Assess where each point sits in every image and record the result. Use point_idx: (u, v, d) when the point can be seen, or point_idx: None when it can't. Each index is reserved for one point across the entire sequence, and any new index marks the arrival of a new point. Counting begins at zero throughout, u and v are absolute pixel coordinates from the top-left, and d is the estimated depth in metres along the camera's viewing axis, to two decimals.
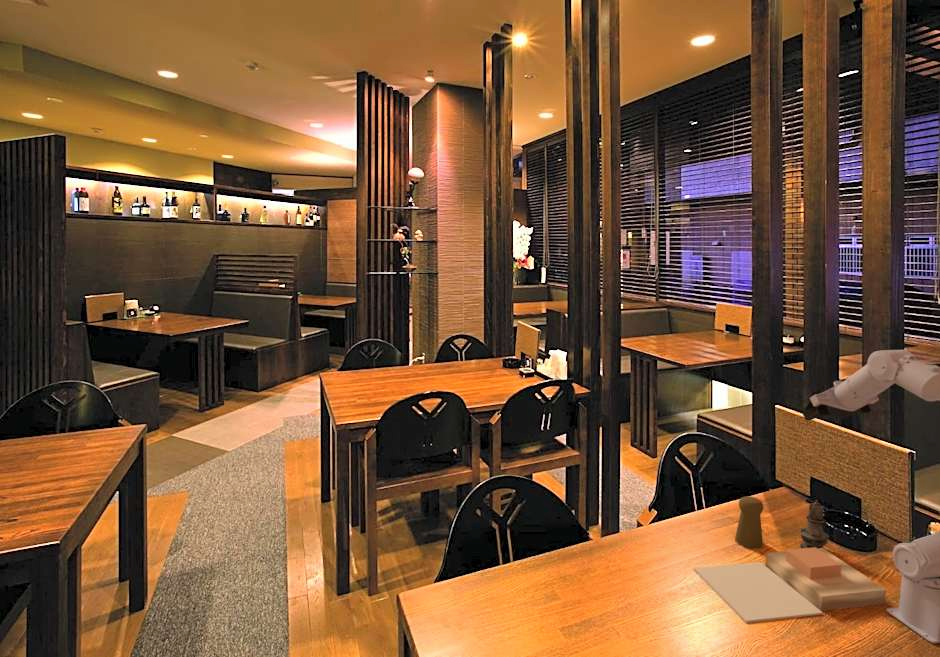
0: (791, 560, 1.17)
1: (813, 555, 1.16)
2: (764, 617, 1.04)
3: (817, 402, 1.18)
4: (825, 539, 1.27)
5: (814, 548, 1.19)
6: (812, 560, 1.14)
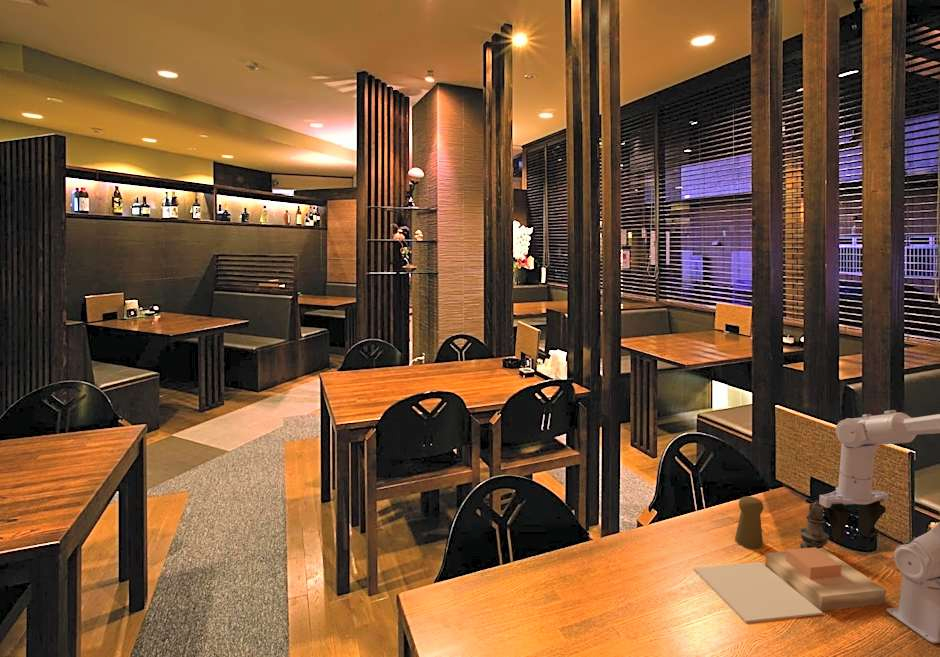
0: (791, 560, 1.17)
1: (813, 555, 1.16)
2: (764, 617, 1.04)
3: (825, 500, 1.13)
4: (825, 539, 1.27)
5: (814, 548, 1.19)
6: (812, 560, 1.14)
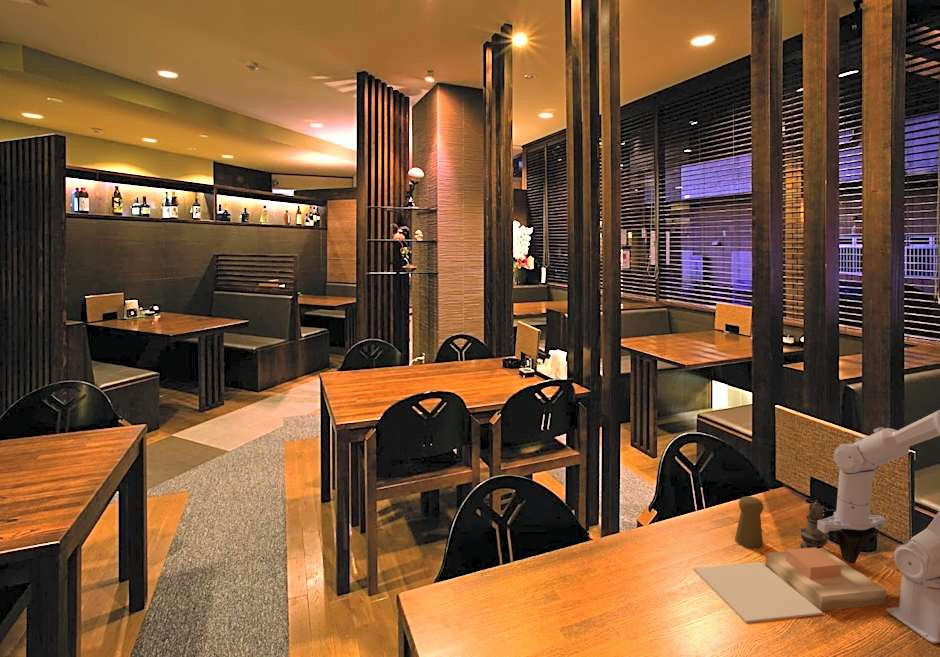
0: (791, 560, 1.17)
1: (813, 555, 1.16)
2: (764, 617, 1.04)
3: (823, 525, 1.14)
4: (825, 539, 1.27)
5: (814, 548, 1.19)
6: (812, 560, 1.14)
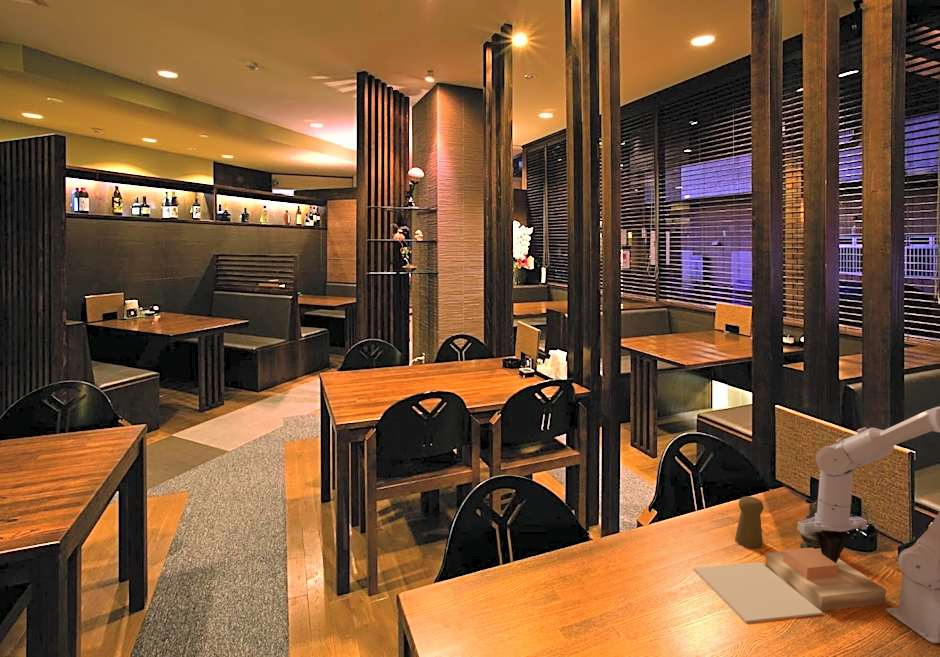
0: (788, 560, 1.17)
1: (810, 555, 1.16)
2: (764, 617, 1.04)
3: (803, 527, 1.14)
4: None
5: (811, 548, 1.19)
6: (809, 561, 1.14)
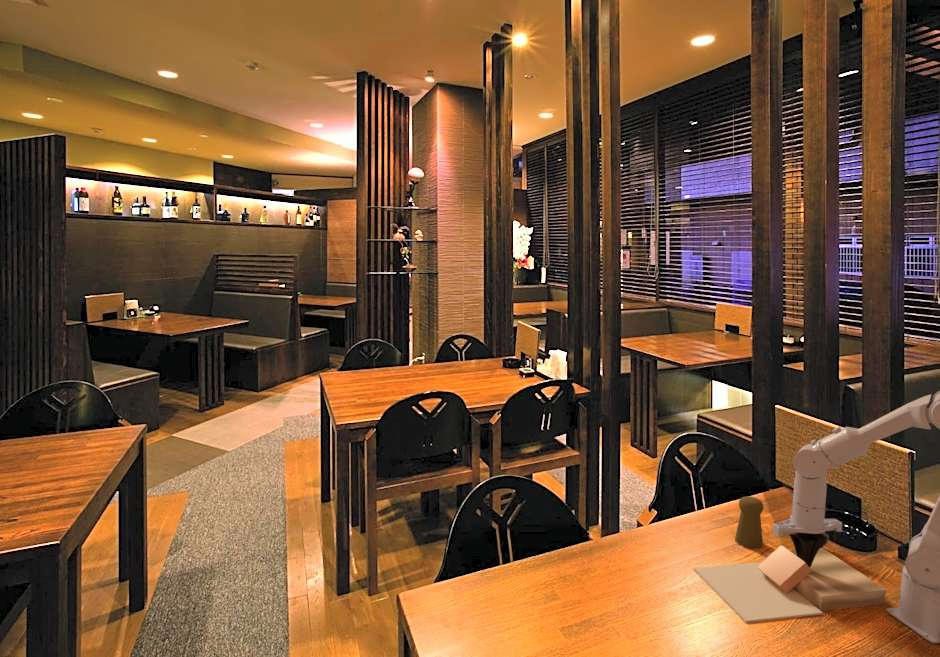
0: (765, 575, 1.17)
1: (780, 560, 1.15)
2: (764, 617, 1.04)
3: (777, 529, 1.13)
4: None
5: (780, 547, 1.18)
6: (780, 571, 1.13)
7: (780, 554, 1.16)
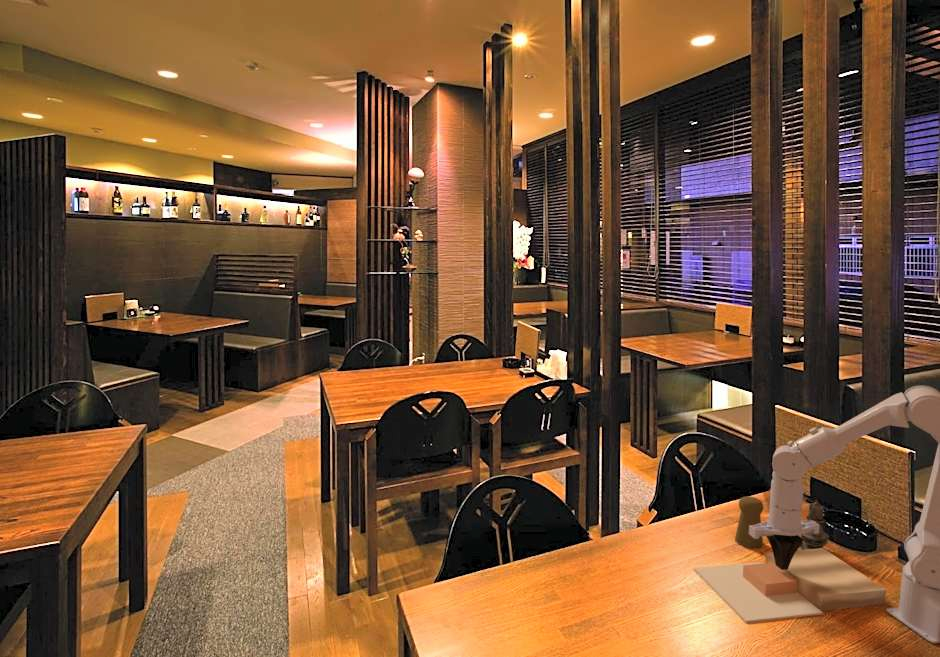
0: (748, 575, 1.16)
1: (770, 571, 1.15)
2: (764, 617, 1.04)
3: (754, 531, 1.12)
4: (825, 539, 1.27)
5: (772, 563, 1.18)
6: (768, 577, 1.13)
7: (771, 567, 1.16)
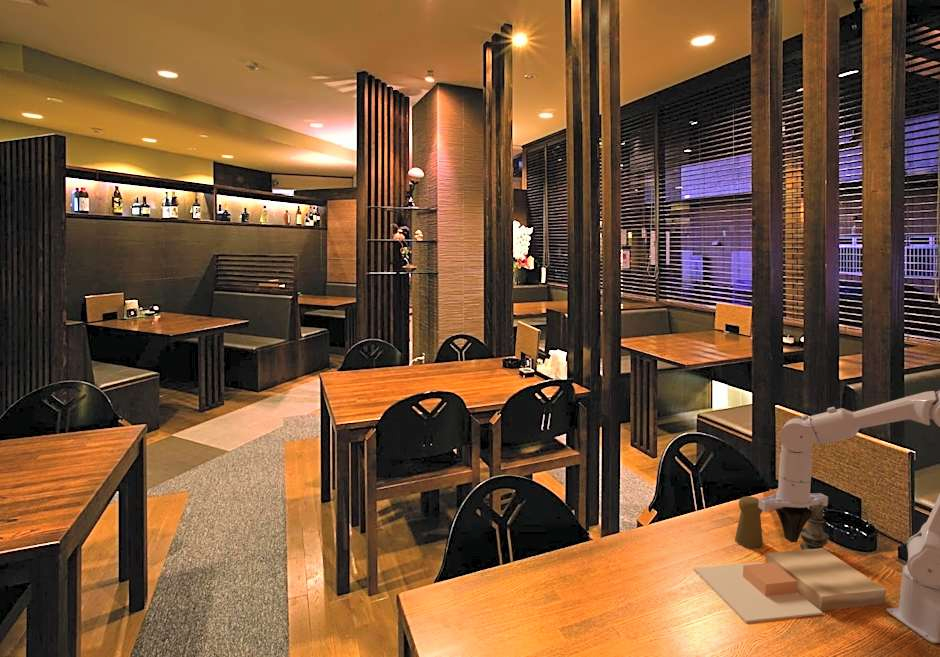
0: (748, 575, 1.16)
1: (770, 571, 1.15)
2: (764, 617, 1.04)
3: (764, 503, 1.12)
4: (825, 539, 1.27)
5: (772, 563, 1.18)
6: (768, 577, 1.13)
7: (771, 567, 1.16)
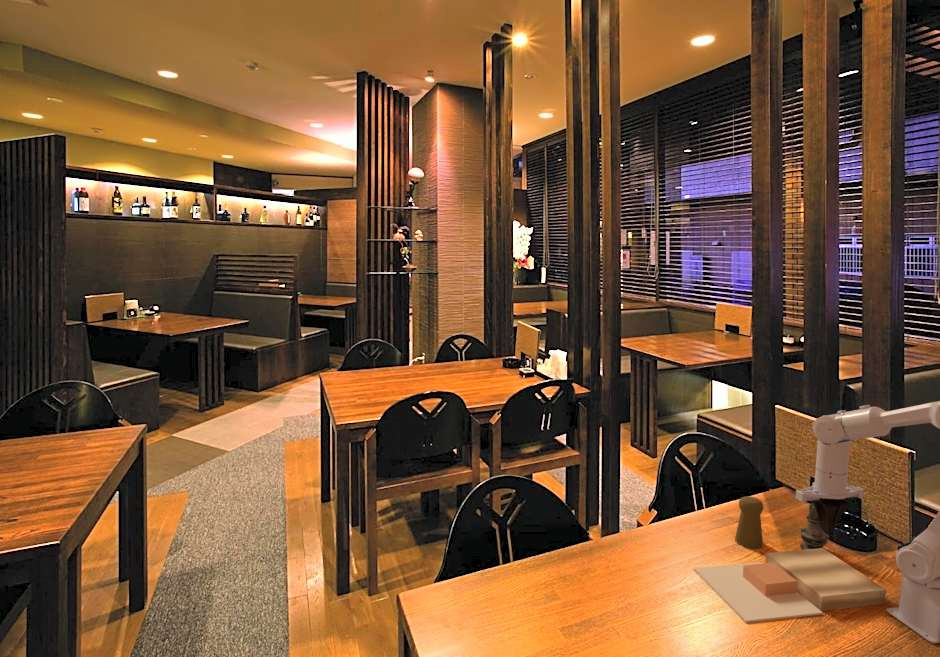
0: (748, 575, 1.16)
1: (770, 571, 1.15)
2: (764, 617, 1.04)
3: (801, 495, 1.16)
4: (825, 539, 1.27)
5: (772, 563, 1.18)
6: (768, 577, 1.13)
7: (771, 567, 1.16)
